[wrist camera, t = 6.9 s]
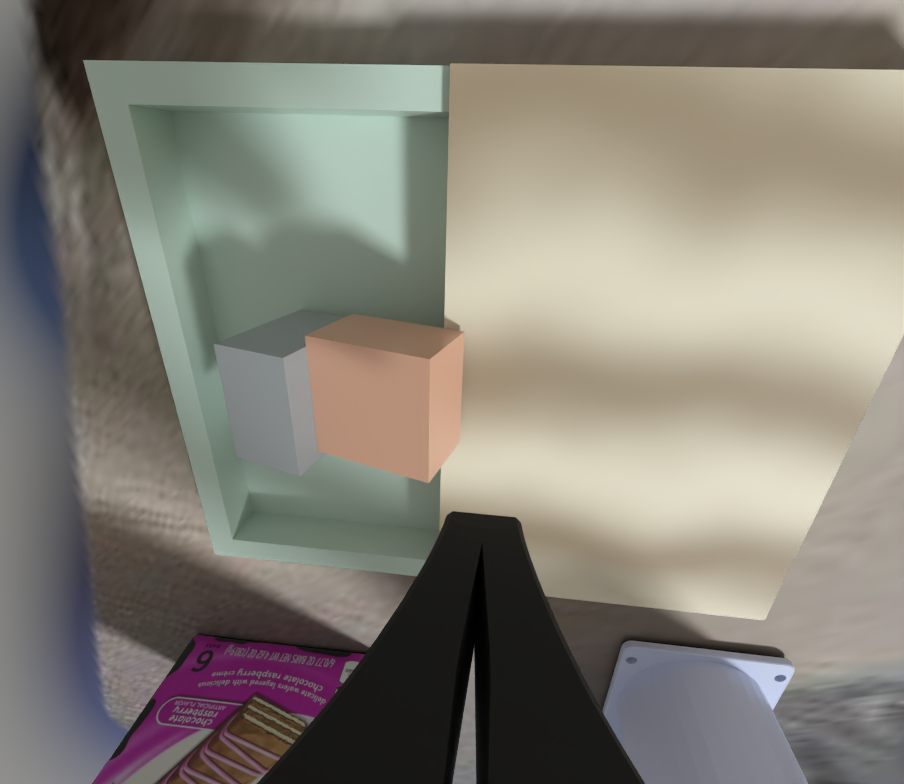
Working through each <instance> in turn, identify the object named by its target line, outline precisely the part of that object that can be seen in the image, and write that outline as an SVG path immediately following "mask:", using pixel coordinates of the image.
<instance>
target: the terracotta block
mask: <svg viewBox="0 0 904 784" xmlns="http://www.w3.org/2000/svg"><path fill="white" fill-rule="evenodd" d="M305 343H306V351H307V360H308V369H309V377H310V386H311V394H312V403H313V411H314V420H315V428H316V437H317V446H318V452H322V453H325V454H329V455H332V456H336V457H339V458H343V459H346V460H350V461H353V462H356V463H360V464H363V465H367V466H370V467H374V468H377V469H381V470H384V471H388V472H391V473H395V474H398V475H402V476H405V477H408V478H412V479H415V480H419V481H422V482H426V483H429V482H430V481H431V479H432V478H433V477H434V476H435V474H436V473H437V472H438V470H439V469H440V468H441V466H442V465H443V464H444V462H445V461H446V460H447V458H448V457H449V456H450V454H451V453H452V452H453V450H454V449H455V448H456V446H457V445H458V444H459V443H460V422H461V399H462V376H463V354H464V331H458V330H451V329H445V328H439V327H433V326H427V325H421V324H415V323H409V322H402V321H396V320H390V319H384V318H378V317H372V316H366V315H359V314H351V315H349V316H347V317H344V318H342V319H340V320H338V321H336V322H333V323H331V324H329V325H327V326H325V327H322V328H320V329H318V330H316V331H314V332H312V333H309V334H307V335H305Z"/></svg>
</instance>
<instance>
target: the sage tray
mask: <svg viewBox="0 0 904 784" xmlns="http://www.w3.org/2000/svg"><path fill="white" fill-rule="evenodd" d="M83 62H84V66H85V69H86V73H87V77H88V81H89V84H90V88H91V92H92V96H93V99H94V103H95V107H96V111H97V114H98V118H99V122H100V126H101V129H102V133H103V137H104V141H105V144H106V148H107V152H108V156H109V159H110V163H111V167H112V171H113V174H114V178H115V182H116V186H117V189H118V193H119V197H120V201H121V204H122V208H123V212H124V216H125V219H126V223H127V227H128V231H129V234H130V238H131V242H132V246H133V249H134V253H135V257H136V261H137V264H138V268H139V272H140V276H141V279H142V283H143V287H144V291H145V294H146V298H147V302H148V305H149V309H150V313H151V317H152V320H153V324H154V328H155V332H156V335H157V339H158V343H159V347H160V350H161V354H162V358H163V362H164V365H165V369H166V373H167V377H168V380H169V384H170V388H171V392H172V395H173V399H174V403H175V407H176V410H177V414H178V418H179V422H180V425H181V429H182V433H183V437H184V440H185V444H186V448H187V452H188V455H189V459H190V463H191V467H192V470H193V474H194V478H195V482H196V485H197V489H198V493H199V497H200V500H201V504H202V508H203V512H204V515H205V519H206V523H207V527H208V530H209V534H210V538H211V542H212V545H213V549H214V553H215V554H216V555H225V556H234V557H243V558H253V559H262V560H271V561H280V562H289V563H299V564H308V565H317V566H326V567H335V568H344V569H354V570H363V571H372V572H381V573H390V574H399V575H409V576H417V575H418V574H419V572H420V570H421V569H422V567H423V565H424V563H425V561H426V560H427V558H428V556H429V554H430V552H431V550H432V548H433V546H434V544H435V542H436V540H437V538H438V536H439V527H440V483H441V468H440V469H439V470H438V472H437V473H436V474H435V476H434V477H433V478H432V479H431V481H430V482H429V483H426V482H422V481H419V480H415V479H412V478H408V477H405V476H402V475H398V474H395V473H391V472H388V471H384V470H381V469H377V468H374V467H370V466H367V465H363V464H360V463H356V462H353V461H350V460H346V459H343V458H339V457H336V456H332V455H329V454H325V455H324V456H323V457H322V458H321V459H319V460H318V461H317V462H316V463H315V464H314V465H312V466H311V467H310V468H309V469H308V470H307V471H305V472H304V473H303V474H302V475H301V476H300V477H299V476H296V475H292V474H289V473H286V472H282V471H279V470H276V469H272V468H269V467H266V466H262V465H259V464H256V463H253V462H249V461H246V460H243V459H239V458H237V455H236V450H235V446H234V441H233V436H232V431H231V426H230V422H229V417H228V412H227V407H226V402H225V397H224V393H223V388H222V383H221V378H220V373H219V369H218V364H217V359H216V354H215V349H214V345H213V344H214V343H217V342H219V341H222V340H224V339H227V338H229V337H232V336H234V335H237V334H240V333H242V332H245V331H247V330H250V329H252V328H255V327H258V326H260V325H263V324H265V323H268V322H270V321H273V320H275V319H278V318H281V317H283V316H286V315H288V314H291V313H293V312H296V311H299V310H301V309H302V310H308V311H314V312H320V313H327V314H333V315H339V316H345V317H347V316H349V315H351V314H359V315H366V316H372V317H378V318H384V319H390V320H396V321H402V322H409V323H415V324H421V325H427V326H433V327H439V328H444V309H445V266H446V222H447V179H448V136H449V92H450V66H443V65H377V64H311V63H245V62H179V61H113V60H83Z"/></svg>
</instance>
